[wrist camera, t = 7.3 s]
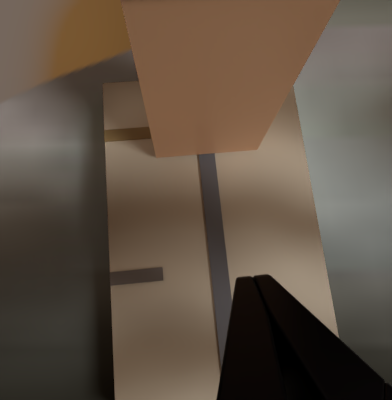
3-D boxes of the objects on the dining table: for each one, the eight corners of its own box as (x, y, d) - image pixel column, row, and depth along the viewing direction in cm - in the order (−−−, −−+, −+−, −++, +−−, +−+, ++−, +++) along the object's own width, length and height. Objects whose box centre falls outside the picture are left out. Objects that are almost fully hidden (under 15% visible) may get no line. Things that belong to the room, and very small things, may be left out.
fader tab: (268, 154, 17) (412, -65, 6) (146, 164, 17) (77, -50, 6) (257, 89, 18) (370, -204, 7) (141, 97, 17) (73, -197, 7)
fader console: (334, 387, 16) (351, 398, 15) (122, 413, 16) (115, 427, 14) (282, 86, 20) (290, 69, 18) (108, 98, 19) (102, 82, 18)
